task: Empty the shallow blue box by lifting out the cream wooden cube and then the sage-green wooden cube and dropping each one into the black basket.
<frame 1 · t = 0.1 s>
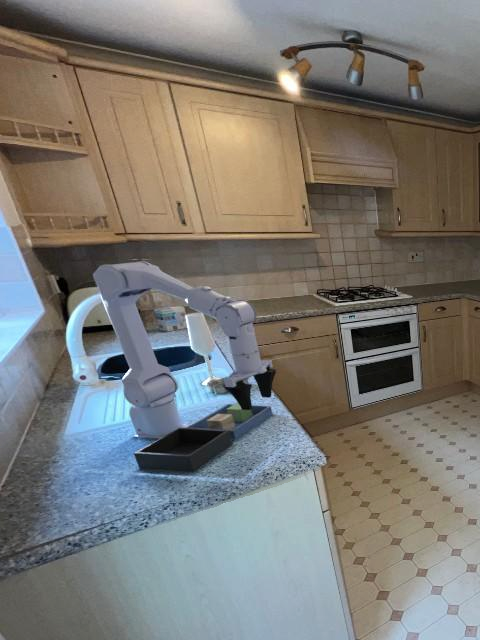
hand: (257, 402, 103), 10 cm above the kitchen counter, tool pointing down, fingers open, 7 cm apart
black basket: (189, 457, 97), on the kitchen counter
egg carton: (230, 389, 136), on the kitchen counter
champagne flute: (213, 382, 142), on the kitchen counter
blue box: (233, 426, 112), on the kitchen counter
cream cube: (223, 430, 108), resting on blue box
green cube: (241, 418, 115), resting on blue box
light bulb box: (175, 329, 208), on the kitchen counter
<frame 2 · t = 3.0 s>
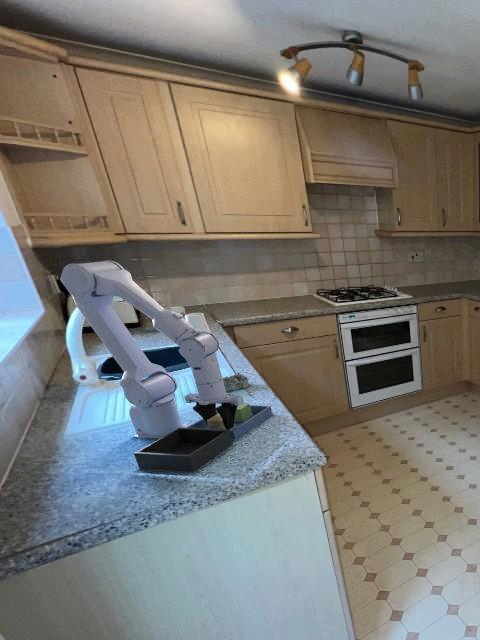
hand: (222, 427, 108), 1 cm above the kitchen counter, tool pointing down, fingers closed on cream cube, 4 cm apart
cream cube: (223, 430, 108), resting on blue box, touching gripper
everything else where it was.
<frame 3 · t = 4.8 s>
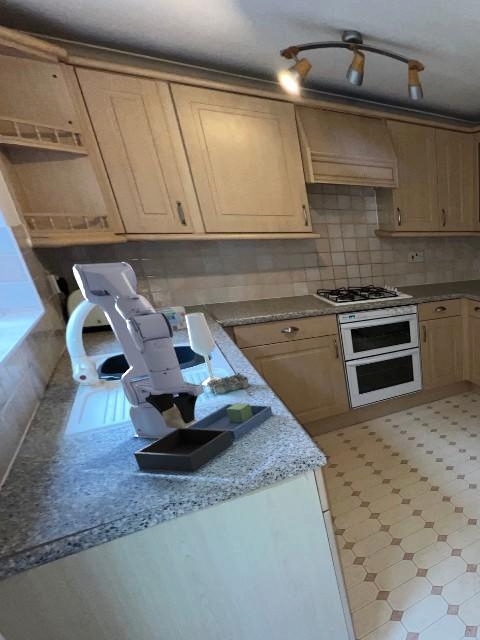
hand: (180, 421, 96), 8 cm above the kitchen counter, tool pointing down, fingers closed on cream cube, 4 cm apart
cream cube: (182, 424, 97), point 8 cm above the kitchen counter, touching gripper
everything else where it was.
when the fingers open (4 cm above the kitchen counter, at t = 6.6 s): cream cube drops 3 cm, resting on black basket.
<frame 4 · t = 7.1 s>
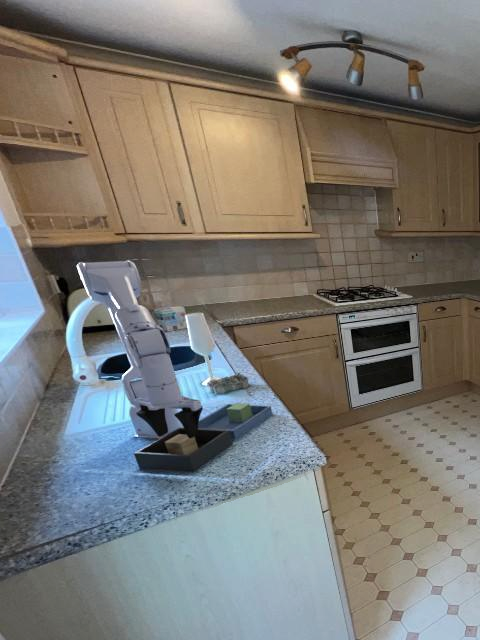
hand: (178, 435, 96), 5 cm above the kitchen counter, tool pointing down, fingers open, 7 cm apart
cream cube: (184, 452, 98), resting on black basket
everything else where it was.
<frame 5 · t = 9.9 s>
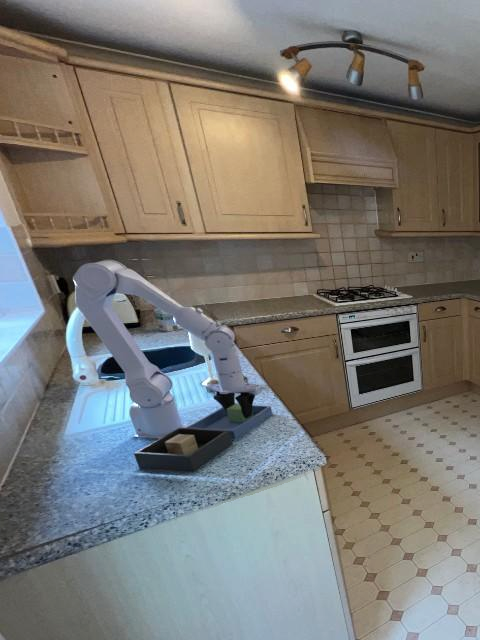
hand: (240, 416, 114), 1 cm above the kitchen counter, tool pointing down, fingers closed on green cube, 4 cm apart
green cube: (241, 418, 115), resting on blue box, touching gripper
everything else where it was.
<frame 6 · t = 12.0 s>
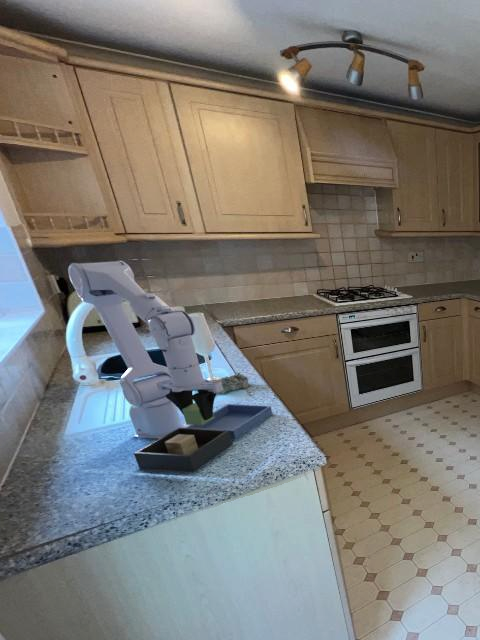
hand: (199, 417, 98), 8 cm above the kitchen counter, tool pointing down, fingers closed on green cube, 4 cm apart
green cube: (200, 421, 98), point 8 cm above the kitchen counter, touching gripper
everything else where it was.
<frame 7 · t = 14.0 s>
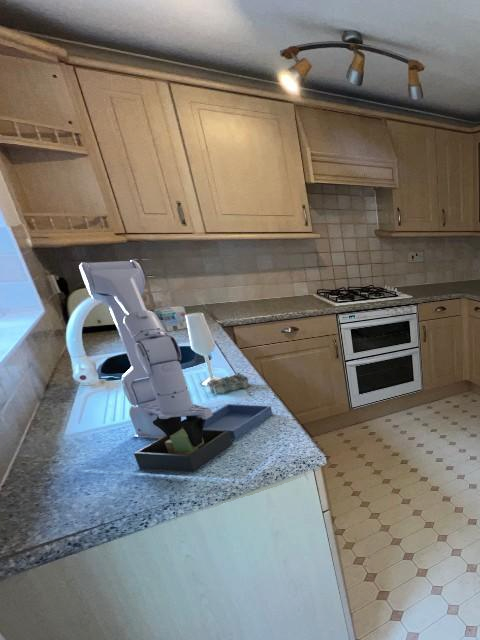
hand: (188, 443, 94), 4 cm above the kitchen counter, tool pointing down, fingers closed on green cube, 4 cm apart
cream cube: (184, 452, 98), resting on black basket, touching gripper
green cube: (189, 447, 95), point 4 cm above the kitchen counter, touching gripper
everything else where it was.
when the fingers open (4 cm above the kitchen counter, at t = 14.2 s): green cube drops 3 cm, resting on black basket.
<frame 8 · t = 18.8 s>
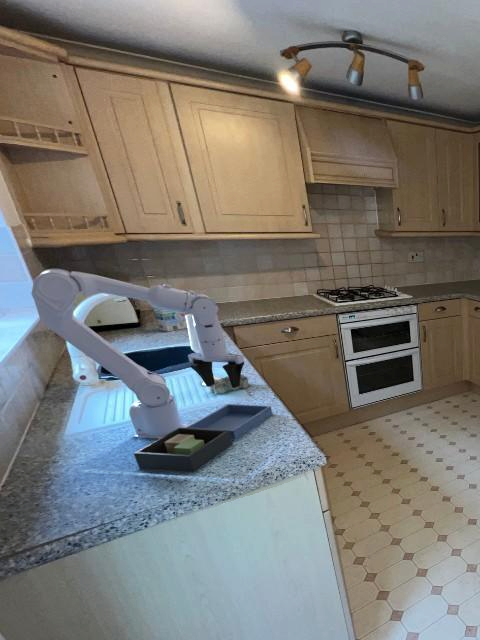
hand: (223, 386, 114), 9 cm above the kitchen counter, tool pointing down, fingers open, 7 cm apart
cream cube: (183, 452, 98), resting on black basket
green cube: (193, 458, 96), resting on black basket
everything else where it was.
at the end: cream cube inside the target area in the black basket (2.3 cm from its centre), point 0.5 cm above the black basket's base; green cube inside the target area in the black basket (2.3 cm from its centre), point 0.5 cm above the black basket's base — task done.
